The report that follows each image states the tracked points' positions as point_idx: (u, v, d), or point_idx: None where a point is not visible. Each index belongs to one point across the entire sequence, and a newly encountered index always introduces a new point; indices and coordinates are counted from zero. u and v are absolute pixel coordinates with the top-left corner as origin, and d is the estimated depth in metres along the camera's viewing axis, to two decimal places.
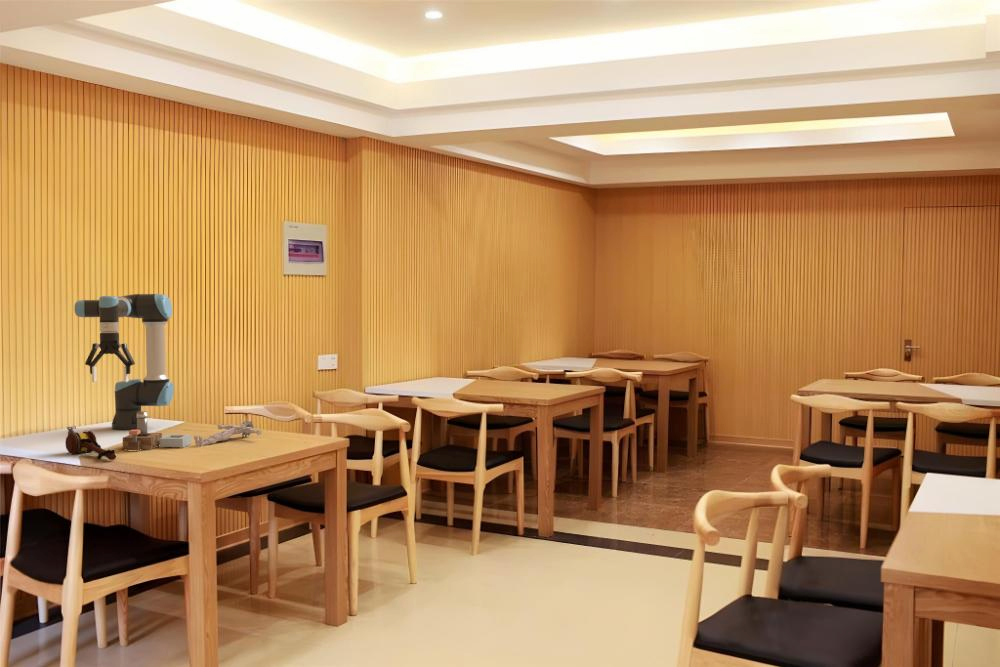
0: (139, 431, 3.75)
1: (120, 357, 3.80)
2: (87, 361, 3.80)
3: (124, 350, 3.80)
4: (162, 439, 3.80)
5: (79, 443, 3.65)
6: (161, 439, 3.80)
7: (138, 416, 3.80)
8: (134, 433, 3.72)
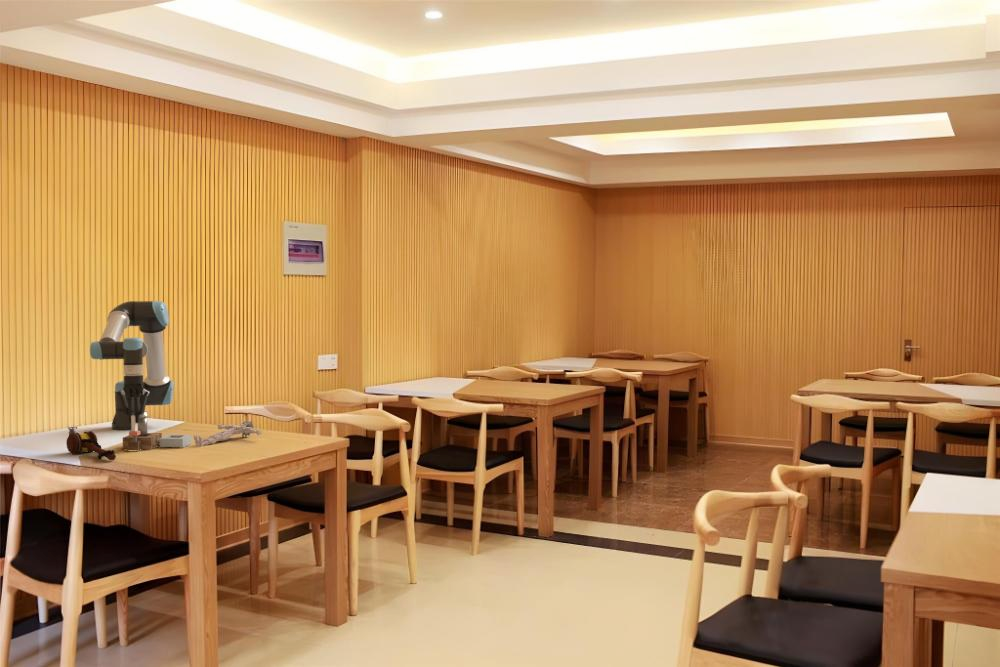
0: (139, 432, 3.75)
1: (136, 404, 3.72)
2: (124, 410, 3.72)
3: (143, 398, 3.72)
4: (162, 439, 3.80)
5: (80, 443, 3.65)
6: (161, 439, 3.80)
7: None
8: (134, 434, 3.72)
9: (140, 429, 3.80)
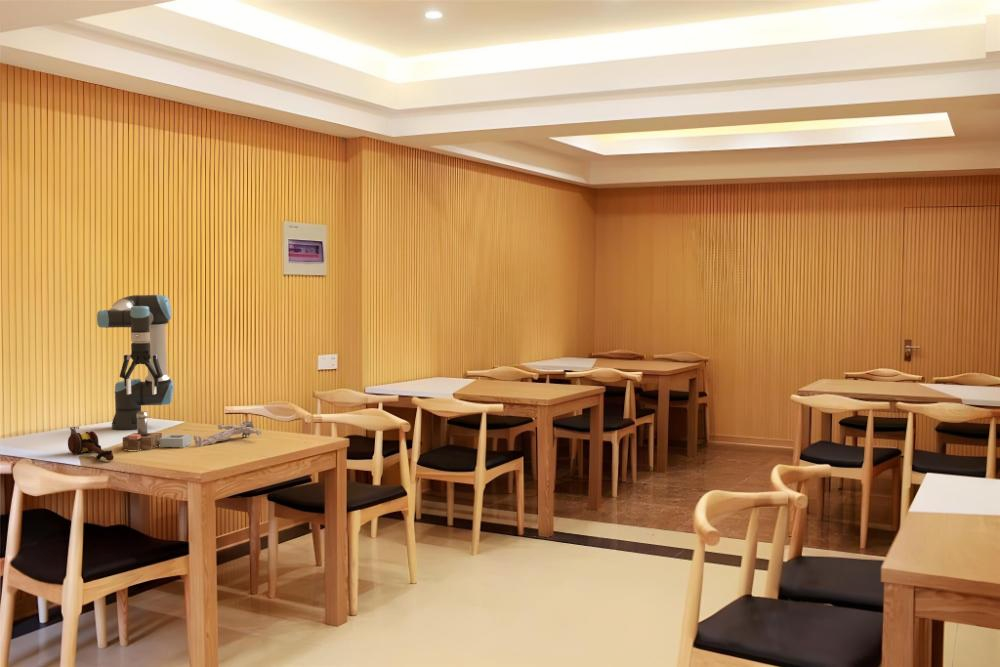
0: (139, 436, 3.75)
1: (150, 369, 3.79)
2: (121, 373, 3.79)
3: (154, 362, 3.79)
4: (162, 439, 3.80)
5: (80, 443, 3.65)
6: (161, 439, 3.80)
7: (138, 416, 3.80)
8: (134, 438, 3.72)
9: (140, 429, 3.80)
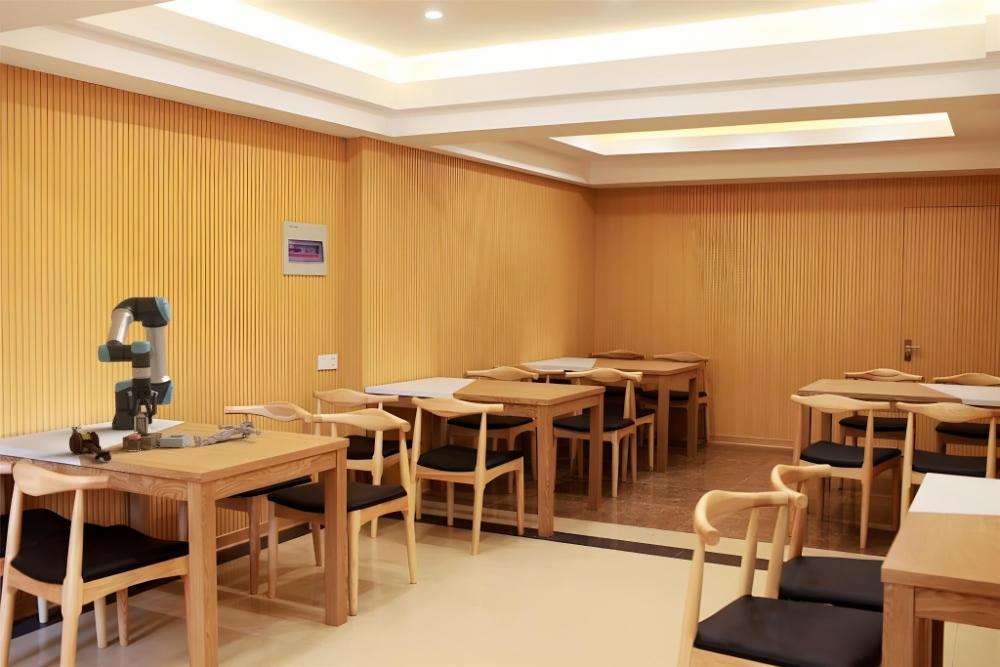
0: (139, 436, 3.75)
1: (146, 405, 3.80)
2: (128, 411, 3.80)
3: (153, 399, 3.80)
4: (162, 439, 3.80)
5: (81, 443, 3.64)
6: (161, 439, 3.80)
7: (138, 416, 3.80)
8: (134, 438, 3.72)
9: (140, 429, 3.80)
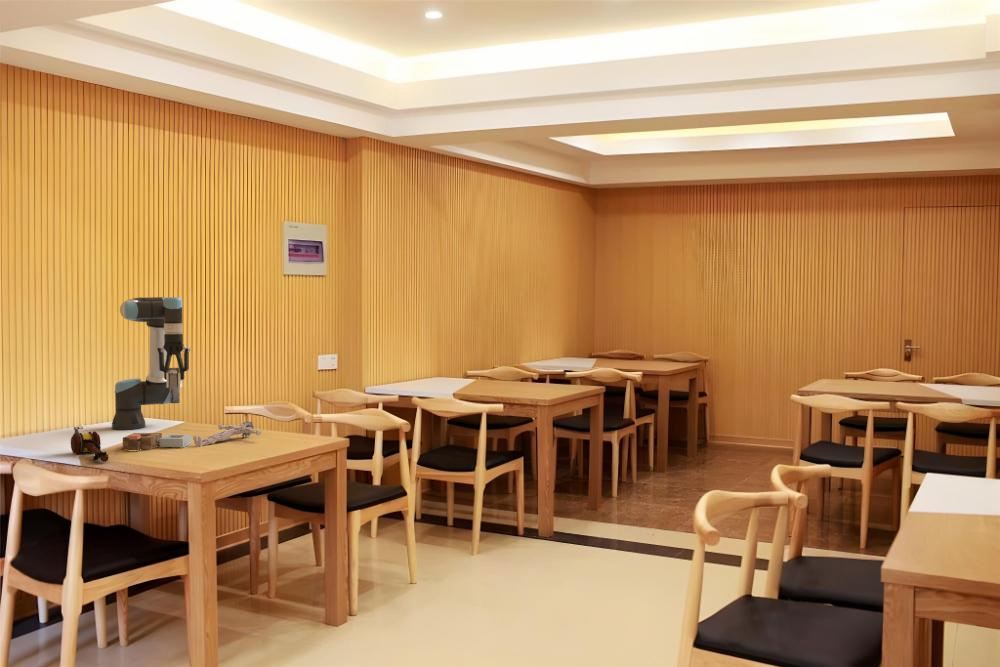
0: (139, 436, 3.75)
1: (179, 361, 3.82)
2: (160, 367, 3.82)
3: (185, 354, 3.82)
4: (162, 439, 3.80)
5: (81, 443, 3.64)
6: (161, 439, 3.80)
7: (170, 372, 3.81)
8: (134, 438, 3.72)
9: (172, 385, 3.82)
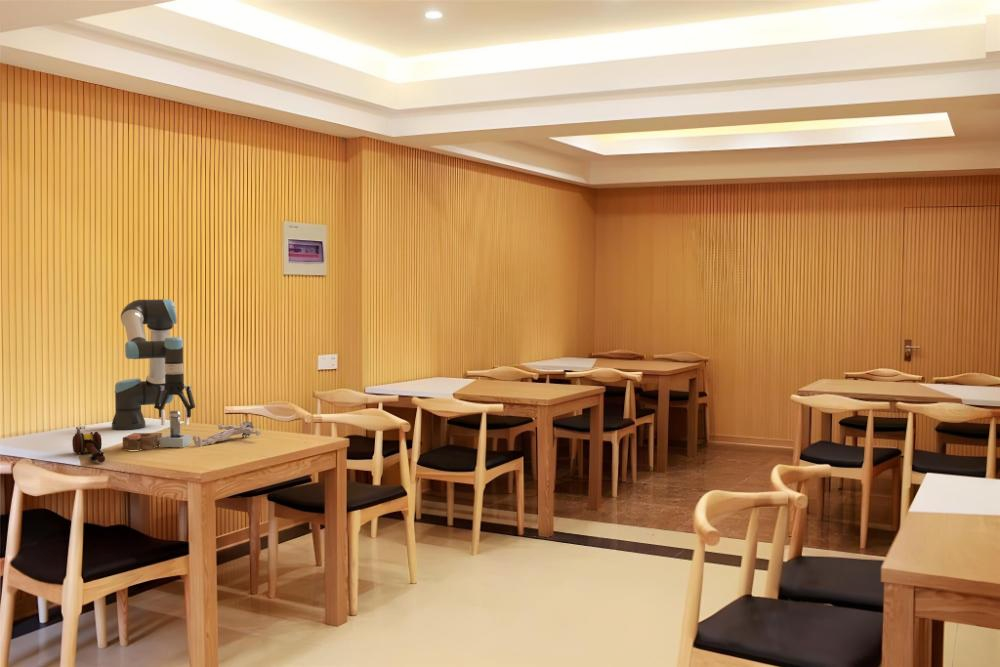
0: (139, 436, 3.75)
1: (183, 400, 3.83)
2: (156, 404, 3.83)
3: (188, 393, 3.83)
4: (162, 439, 3.80)
5: (82, 443, 3.64)
6: (161, 439, 3.80)
7: (171, 415, 3.83)
8: (134, 438, 3.72)
9: (173, 428, 3.83)
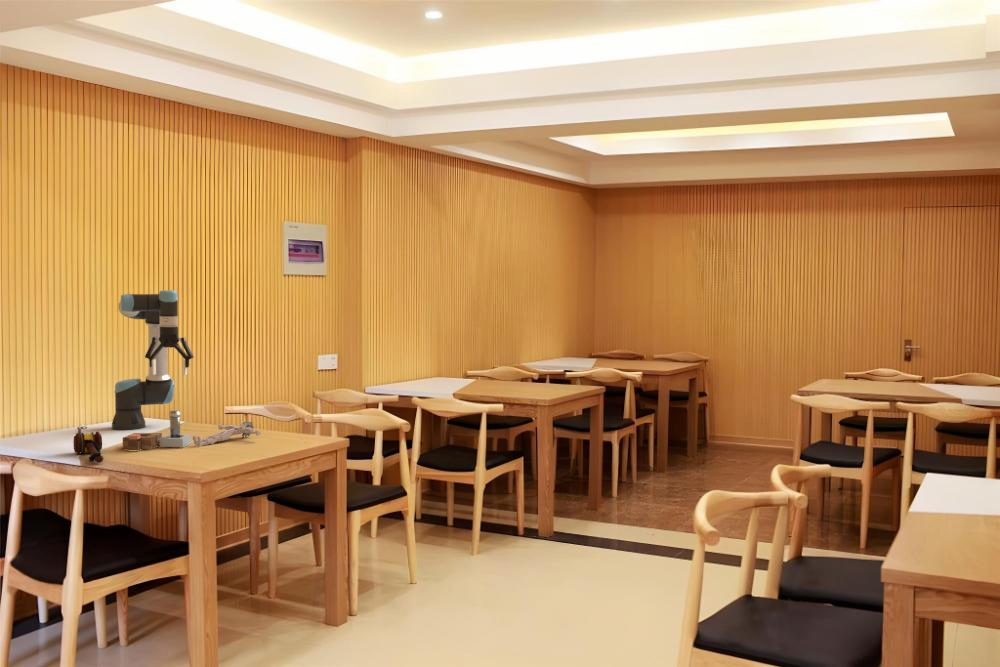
0: (139, 436, 3.75)
1: (179, 351, 3.86)
2: (147, 354, 3.86)
3: (183, 344, 3.86)
4: (162, 439, 3.80)
5: (82, 444, 3.64)
6: (161, 439, 3.80)
7: (171, 415, 3.83)
8: (134, 438, 3.72)
9: (173, 428, 3.83)
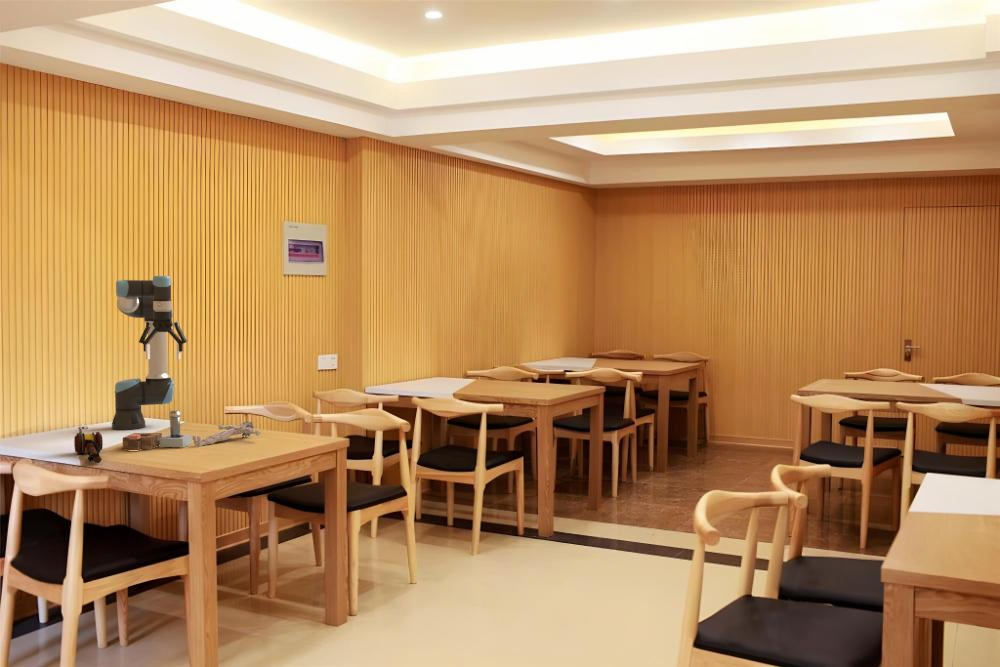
0: (139, 436, 3.75)
1: (173, 335, 3.90)
2: (141, 339, 3.91)
3: (177, 328, 3.90)
4: (162, 439, 3.80)
5: (83, 444, 3.64)
6: (161, 439, 3.80)
7: (171, 415, 3.83)
8: (134, 438, 3.72)
9: (173, 428, 3.83)
